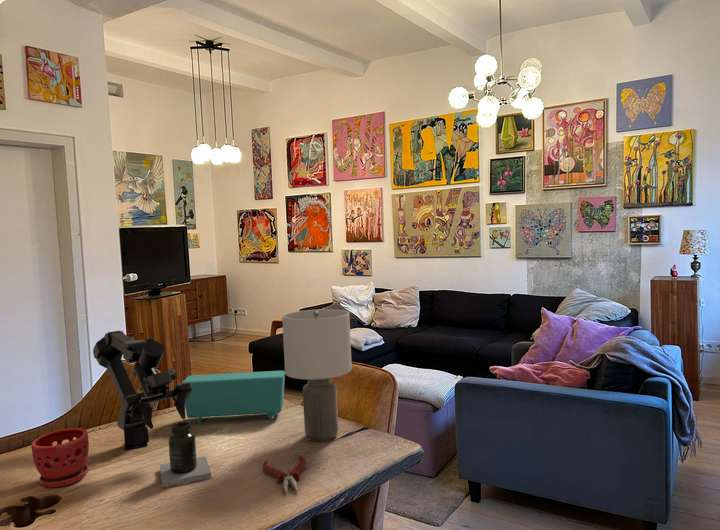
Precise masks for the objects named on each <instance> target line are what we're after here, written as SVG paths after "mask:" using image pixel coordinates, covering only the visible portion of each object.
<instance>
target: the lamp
mask: <svg viewBox="0 0 720 530" xmlns="http://www.w3.org/2000/svg"><path fill="white" fill-rule="evenodd" d="M281 317H282V318H281V319H282V336H283V337H282V339H283V354H284V356H283V357H284V371H285V376H287V377H289V378H292V379H295V380H296V379H297V380H307V383H306V384H304V385H303V388H302V405H303V420H304V423H303V424H304V425H303V426H304V428H303V429H304V435H305V437H306V438H307V439H308V440H309V439H311V440H310V441H312V440H313V442H317V441H319V442H327V440H328V441H331V440H333V439H335V438H336V436H337V435H338V432H339V418H338V417H339V416H338V415H339V414H338V397H337V396H338V395H337V392H338V391H337V390H338V389H337V386H336V384H335V382H332V381H331V378H332V379H333V378H338V377H342V376H344V375H347V374H349V373H351V371H352V369H353V368H352V366H353V365H352V346H351V345H352V342H351V326H350V325H351V324H350V311H349V310H346V309H345V310H344V309H334V308H333V309H332V308H331V309H329V308H327V309H325V308H322V309H317V308H316V309H306V310H298V311H292V312H286V313H285V314H282V316H281Z"/></svg>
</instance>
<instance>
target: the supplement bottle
mask: <svg viewBox="0 0 720 530" xmlns="http://www.w3.org/2000/svg"><path fill="white" fill-rule="evenodd" d="M191 426H192V425H191V422H189V421H180V422H176V423H173V424H172V425H171V435H170V436H169V438H168V457H169V463H170V470H171V471H172V472H173V473H186V472H190V471H192V470H194V469H195V468H196V466H197V458H198V456H197V442H196V435H195V433H194V432H192V427H191Z"/></svg>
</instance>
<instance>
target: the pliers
mask: <svg viewBox="0 0 720 530" xmlns="http://www.w3.org/2000/svg"><path fill="white" fill-rule="evenodd" d="M298 460H299V461H300V462H298V463H297V464H296V465H295V467H293V469H292V470H291V471H289V473H286V472H284V471H281V470H279V469H277V468H275V467H273V466H271V465H270V464H269V463H268V459H264V461H263V463H262V468H263V469H262V470H263V473H264V474H266V475H267V476H269V477H270V476H271V477H270V478H272V479H275V480H276V484H277V485H280V484H283V490H284V492H285V493H284V494H285V495H286V496H287V495H288V491H289V486H291V488H292V489H293V490H294V491H295V492H296V493H299V490H298V484H297V482H299V481H300V480H301V474H302V473H303V472H304V470H305V469H306V466H307V461H306V458H305V457H304V455H302V454H299V455H298Z"/></svg>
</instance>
